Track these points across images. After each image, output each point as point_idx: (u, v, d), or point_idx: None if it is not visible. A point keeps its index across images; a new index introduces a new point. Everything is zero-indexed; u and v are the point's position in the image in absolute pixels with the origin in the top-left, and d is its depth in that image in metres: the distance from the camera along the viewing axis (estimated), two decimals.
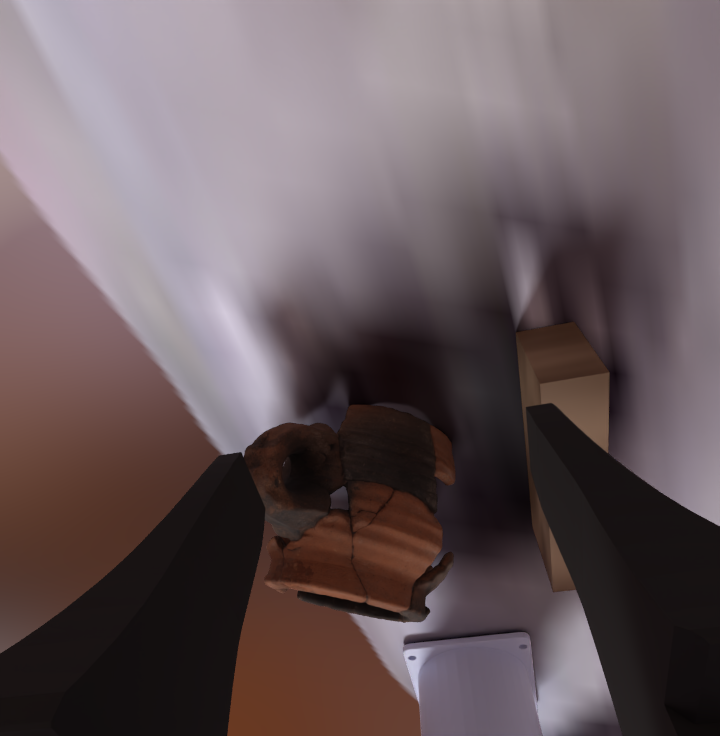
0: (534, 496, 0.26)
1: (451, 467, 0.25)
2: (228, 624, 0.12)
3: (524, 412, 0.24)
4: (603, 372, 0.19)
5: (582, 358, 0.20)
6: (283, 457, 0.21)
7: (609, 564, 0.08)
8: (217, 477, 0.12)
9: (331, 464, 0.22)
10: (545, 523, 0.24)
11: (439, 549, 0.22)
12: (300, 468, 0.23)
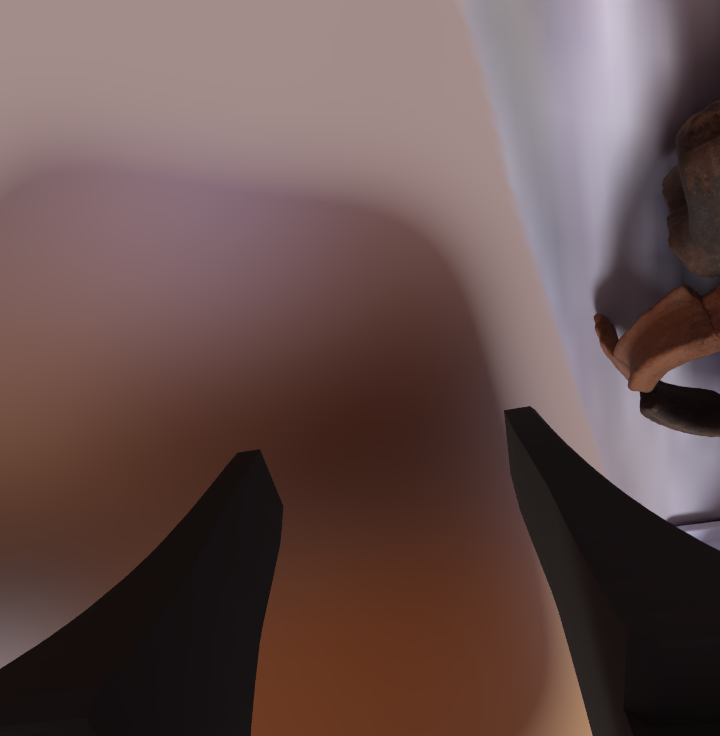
0: None
1: None
2: (250, 622, 0.11)
3: None
4: None
5: None
6: None
7: (576, 568, 0.08)
8: (238, 473, 0.12)
9: None
10: None
11: None
12: None
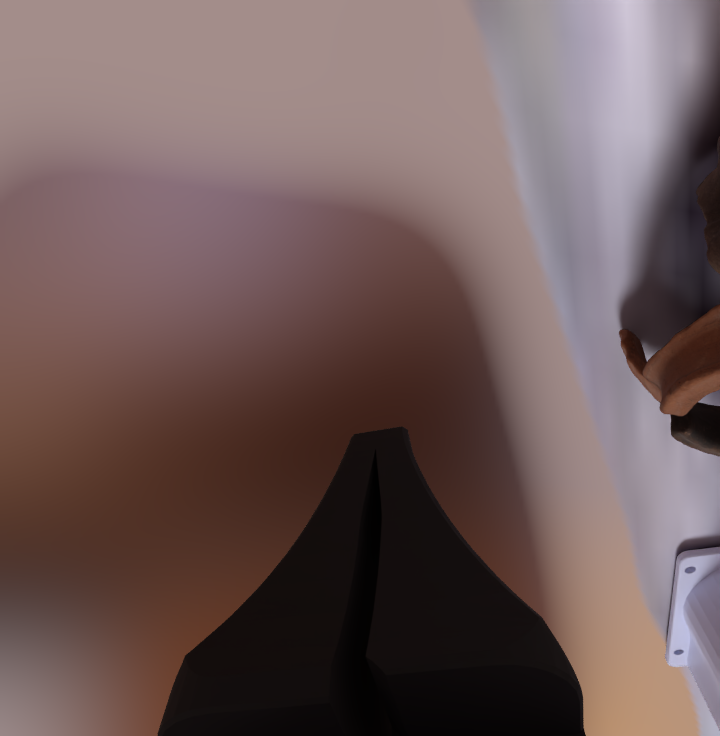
0: None
1: None
2: None
3: None
4: None
5: None
6: None
7: None
8: (366, 454, 0.12)
9: None
10: None
11: None
12: None
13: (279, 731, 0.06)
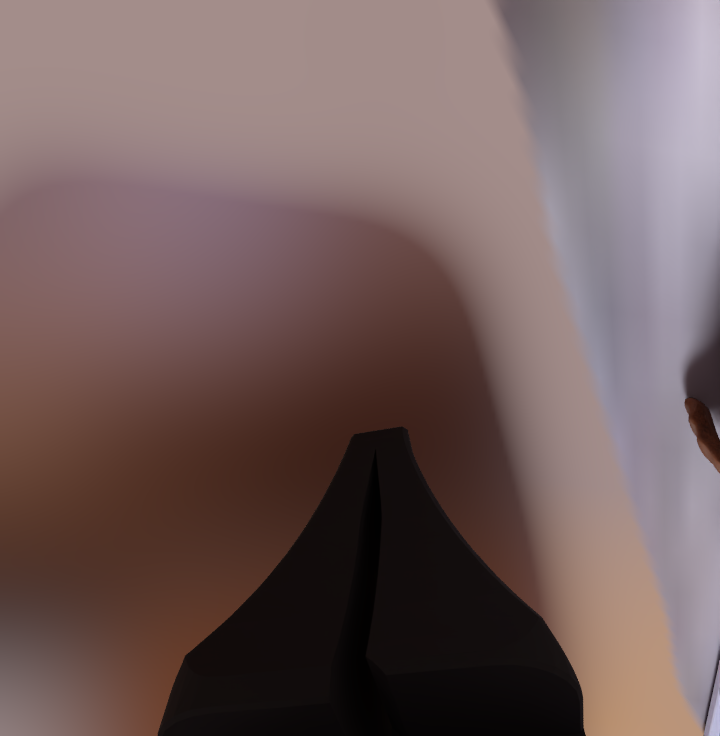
0: None
1: None
2: None
3: None
4: None
5: None
6: None
7: None
8: (366, 454, 0.12)
9: None
10: None
11: None
12: None
13: (279, 731, 0.06)
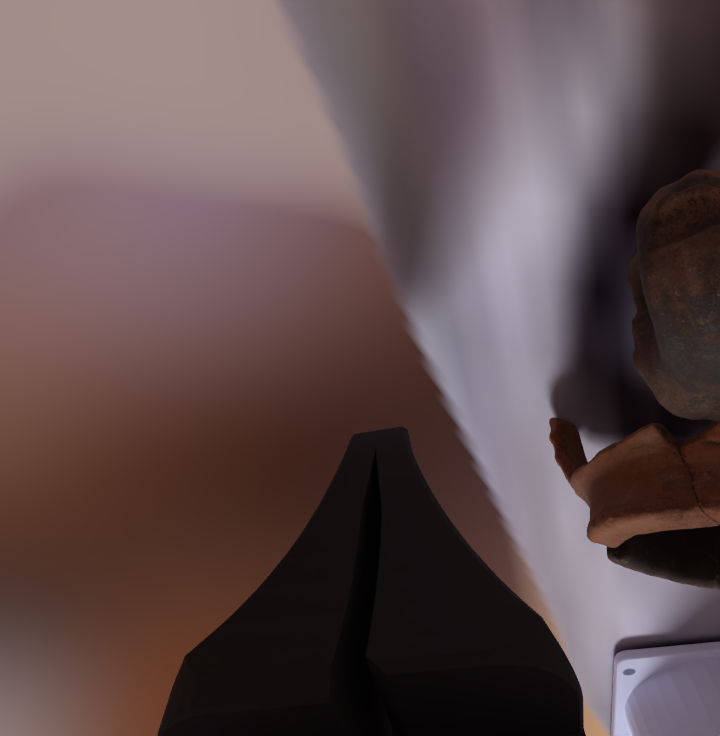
0: None
1: None
2: None
3: None
4: None
5: None
6: None
7: None
8: (366, 454, 0.12)
9: None
10: None
11: None
12: None
13: (279, 731, 0.06)
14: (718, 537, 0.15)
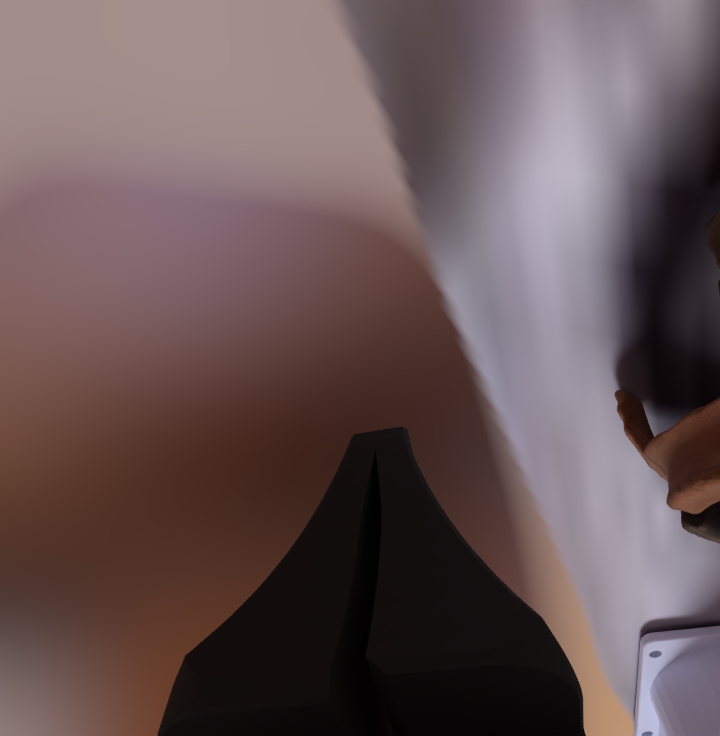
0: None
1: None
2: None
3: None
4: None
5: None
6: None
7: None
8: (366, 454, 0.12)
9: None
10: None
11: None
12: None
13: (279, 731, 0.06)
14: None
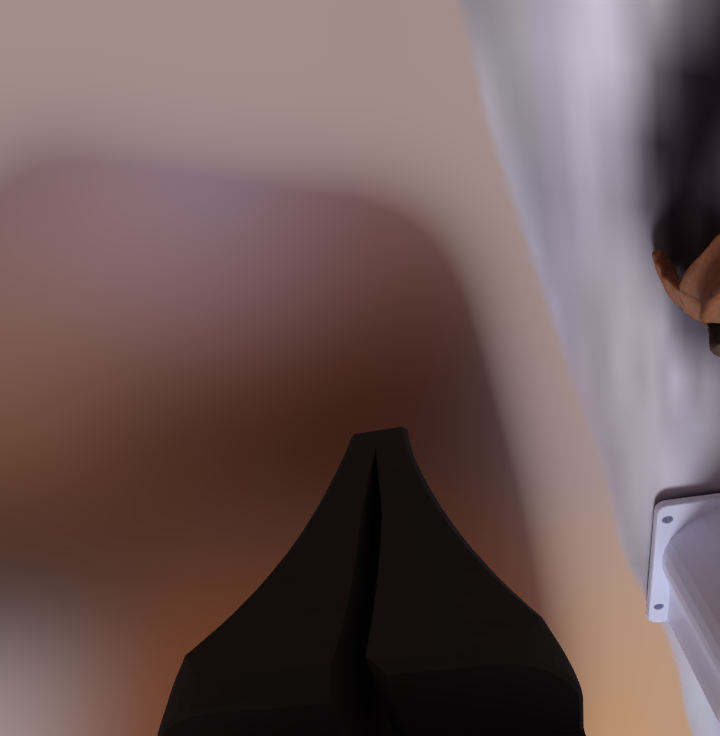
0: None
1: None
2: None
3: None
4: None
5: None
6: None
7: None
8: (366, 454, 0.12)
9: None
10: None
11: None
12: None
13: (279, 731, 0.06)
14: None
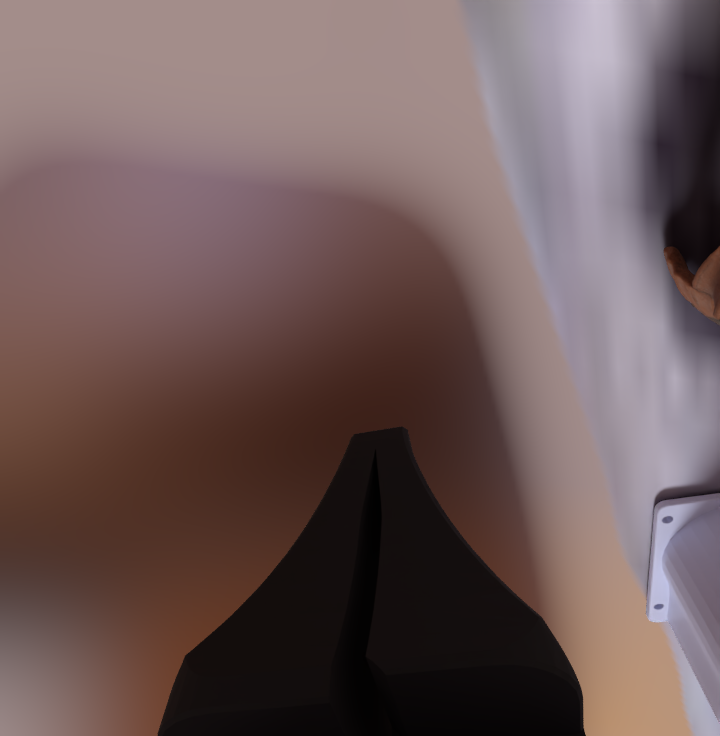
0: None
1: None
2: None
3: None
4: None
5: None
6: None
7: None
8: (366, 454, 0.12)
9: None
10: None
11: None
12: None
13: (279, 731, 0.06)
14: None
